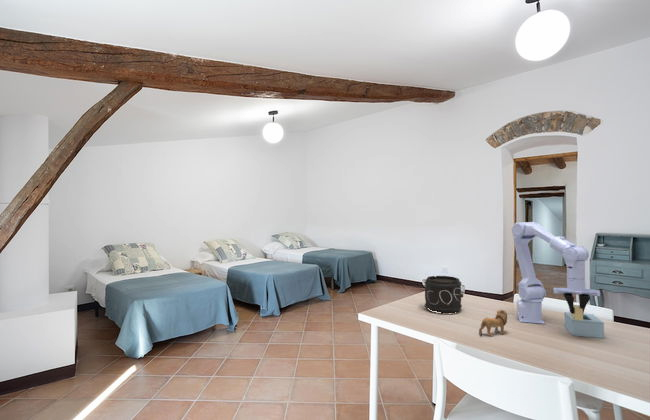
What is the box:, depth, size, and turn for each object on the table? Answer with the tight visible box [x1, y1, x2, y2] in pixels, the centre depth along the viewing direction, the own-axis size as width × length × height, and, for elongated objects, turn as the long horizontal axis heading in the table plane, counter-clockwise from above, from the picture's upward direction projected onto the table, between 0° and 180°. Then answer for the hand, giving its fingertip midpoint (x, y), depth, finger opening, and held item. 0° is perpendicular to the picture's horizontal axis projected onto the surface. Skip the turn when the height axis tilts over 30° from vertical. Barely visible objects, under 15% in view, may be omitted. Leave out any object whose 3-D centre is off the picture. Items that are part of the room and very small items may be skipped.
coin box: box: [563, 311, 605, 339], centre depth 138 cm, size 10×11×6 cm
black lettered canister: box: [424, 275, 464, 313], centre depth 172 cm, size 18×18×16 cm
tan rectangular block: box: [570, 304, 584, 321], centre depth 132 cm, size 2×5×4 cm, turn 158°
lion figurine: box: [478, 309, 508, 337], centre depth 137 cm, size 15×5×9 cm, turn 116°
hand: (576, 313), depth 132 cm, fingers closed on tan rectangular block, 2 cm apart
